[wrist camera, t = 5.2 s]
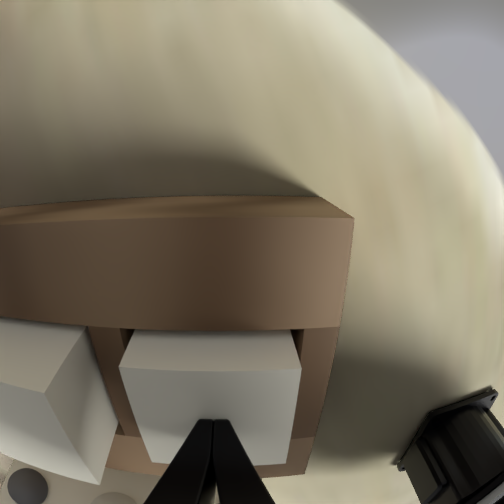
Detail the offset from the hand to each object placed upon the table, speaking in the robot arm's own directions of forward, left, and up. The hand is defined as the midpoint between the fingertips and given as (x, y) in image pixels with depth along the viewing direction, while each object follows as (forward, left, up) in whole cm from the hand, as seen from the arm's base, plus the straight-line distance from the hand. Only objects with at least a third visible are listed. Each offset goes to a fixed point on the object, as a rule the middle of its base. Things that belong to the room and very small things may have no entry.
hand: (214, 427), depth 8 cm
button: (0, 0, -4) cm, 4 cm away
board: (+6, 0, -4) cm, 7 cm away
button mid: (+6, 0, -3) cm, 7 cm away
